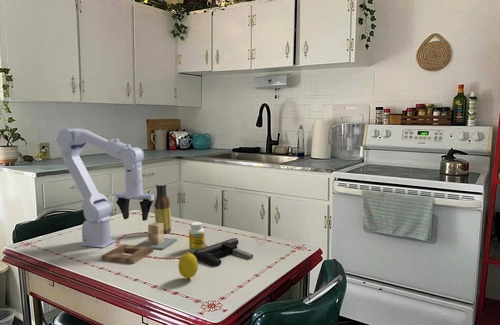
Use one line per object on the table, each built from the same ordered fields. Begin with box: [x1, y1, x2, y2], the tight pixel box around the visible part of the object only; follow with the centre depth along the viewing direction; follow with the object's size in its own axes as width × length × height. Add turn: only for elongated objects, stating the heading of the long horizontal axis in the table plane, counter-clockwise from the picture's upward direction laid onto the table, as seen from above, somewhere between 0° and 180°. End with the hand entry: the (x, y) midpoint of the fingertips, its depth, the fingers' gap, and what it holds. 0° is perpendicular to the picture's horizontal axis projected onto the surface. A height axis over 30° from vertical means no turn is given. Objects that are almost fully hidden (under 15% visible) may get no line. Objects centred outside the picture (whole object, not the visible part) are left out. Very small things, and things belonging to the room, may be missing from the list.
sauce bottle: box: [154, 182, 172, 234], centre depth 161 cm, size 7×6×20 cm
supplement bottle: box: [188, 221, 206, 253], centre depth 140 cm, size 5×5×10 cm
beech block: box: [147, 221, 165, 245], centre depth 147 cm, size 4×4×7 cm
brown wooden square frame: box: [101, 244, 154, 265], centre depth 135 cm, size 12×12×2 cm
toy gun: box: [192, 237, 254, 267], centre depth 135 cm, size 3×20×16 cm
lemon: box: [178, 252, 199, 280], centre depth 115 cm, size 6×6×8 cm
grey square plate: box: [135, 237, 178, 251], centre depth 147 cm, size 11×11×1 cm
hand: (135, 219), depth 142 cm, fingers open, 7 cm apart
